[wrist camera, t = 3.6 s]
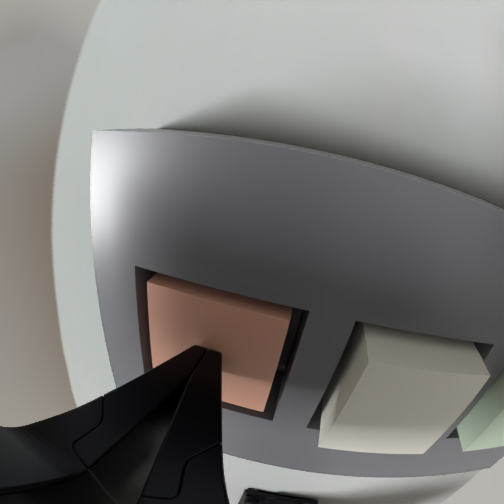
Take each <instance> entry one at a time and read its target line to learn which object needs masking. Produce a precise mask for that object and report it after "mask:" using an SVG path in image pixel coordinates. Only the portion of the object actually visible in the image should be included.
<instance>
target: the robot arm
mask: <svg viewBox="0 0 504 504" xmlns="http://www.w3.org/2000/svg"><path fill="white" fill-rule="evenodd" d="M0 504H230V503H229V499H228V494H227V489H226V483H225V477H224V468H223V446H222V353H221V352H219V351H215V350H212V349H209V350H208V349H207V348H205V347H202V346H199V345H193V346H191V347H190V348H188V349H186V350H184V351H183V352H181V353H179V354H178V355H176V356H174V357H172V358H171V359H169V360H167V361H165V362H163V363H162V364H160V365H158V366H156V367H155V368H153V369H151V370H149V371H147V372H146V373H144V374H142V375H140V376H138V377H136V378H135V379H133V380H131V381H129V382H127V383H125V384H123V385H122V386H120V387H118V388H116V389H114V390H112V391H110V392H108V393H106V394H104V397H103V396H100V397H98V398H97V399H95V400H93V401H91V402H88V403H86V404H84V405H82V406H80V407H78V408H75V409H73V410H70V411H68V412H65V413H63V414H60V415H57V416H54V417H51V418H48V419H45V420H42V421H38V422H35V423H32V424H29V425H26V426H21V427H2V426H0ZM238 504H318V501H314V500H305V499H298V498H291V497H284V496H279V495H273V494H268V493H263V492H258V491H254V490H248V489H246V490H244V492H243V494H242V496H241V499H240V501H239V503H238Z"/></svg>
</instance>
